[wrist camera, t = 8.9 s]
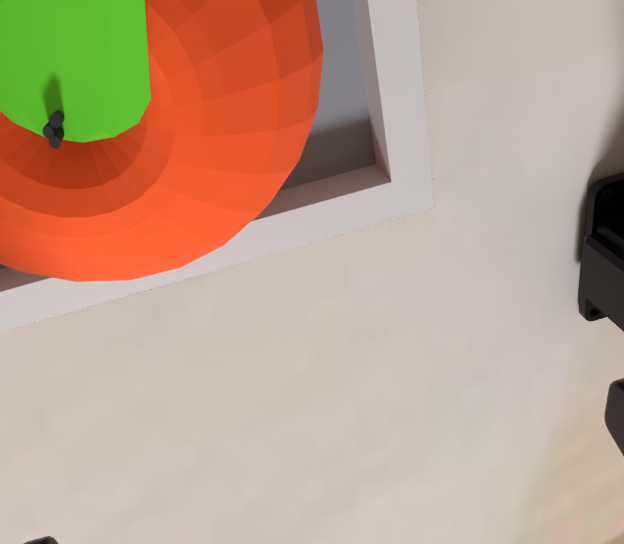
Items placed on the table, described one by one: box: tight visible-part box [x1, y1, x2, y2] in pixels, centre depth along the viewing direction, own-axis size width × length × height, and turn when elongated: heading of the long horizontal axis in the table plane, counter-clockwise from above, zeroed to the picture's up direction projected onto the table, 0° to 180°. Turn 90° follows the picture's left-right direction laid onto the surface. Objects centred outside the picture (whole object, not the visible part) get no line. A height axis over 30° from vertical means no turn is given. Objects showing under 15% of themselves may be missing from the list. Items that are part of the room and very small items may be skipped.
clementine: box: [0, 0, 324, 282], centre depth 8 cm, size 8×7×7 cm
